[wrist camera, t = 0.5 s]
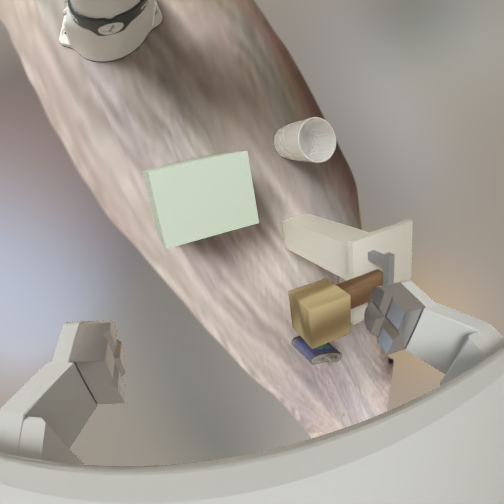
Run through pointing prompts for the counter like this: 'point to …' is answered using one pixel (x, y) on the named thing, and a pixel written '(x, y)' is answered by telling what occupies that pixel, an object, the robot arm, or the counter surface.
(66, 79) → the counter surface
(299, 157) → the white cup
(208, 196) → the sage pedestal
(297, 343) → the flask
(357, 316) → the tall stand
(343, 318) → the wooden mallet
